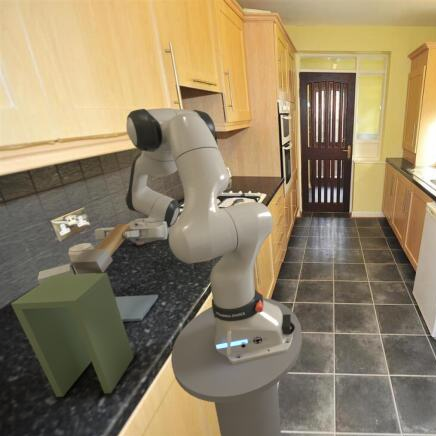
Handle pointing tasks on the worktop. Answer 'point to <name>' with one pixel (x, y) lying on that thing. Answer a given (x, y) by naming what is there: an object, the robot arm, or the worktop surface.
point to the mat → (134, 306)
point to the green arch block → (75, 329)
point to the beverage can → (79, 251)
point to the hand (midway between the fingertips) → (116, 235)
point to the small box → (55, 272)
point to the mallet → (100, 252)
